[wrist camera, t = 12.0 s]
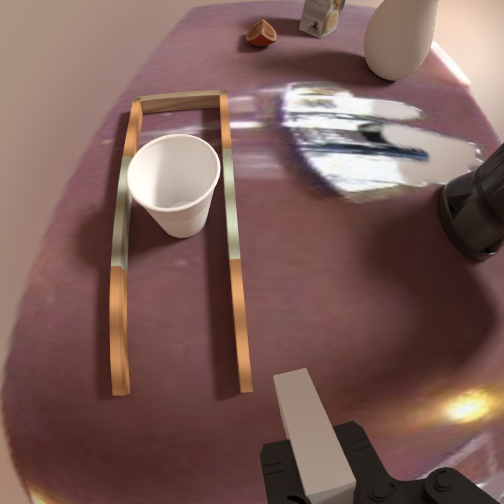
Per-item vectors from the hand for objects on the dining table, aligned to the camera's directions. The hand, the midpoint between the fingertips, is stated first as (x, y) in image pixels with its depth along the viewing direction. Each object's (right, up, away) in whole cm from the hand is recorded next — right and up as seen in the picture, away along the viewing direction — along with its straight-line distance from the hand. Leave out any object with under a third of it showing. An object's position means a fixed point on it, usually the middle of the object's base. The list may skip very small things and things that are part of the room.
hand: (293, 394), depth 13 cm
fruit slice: (0, +52, +44) cm, 68 cm away
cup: (-11, +11, +28) cm, 32 cm away
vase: (+27, +47, +45) cm, 70 cm away
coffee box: (+14, +61, +49) cm, 80 cm away
